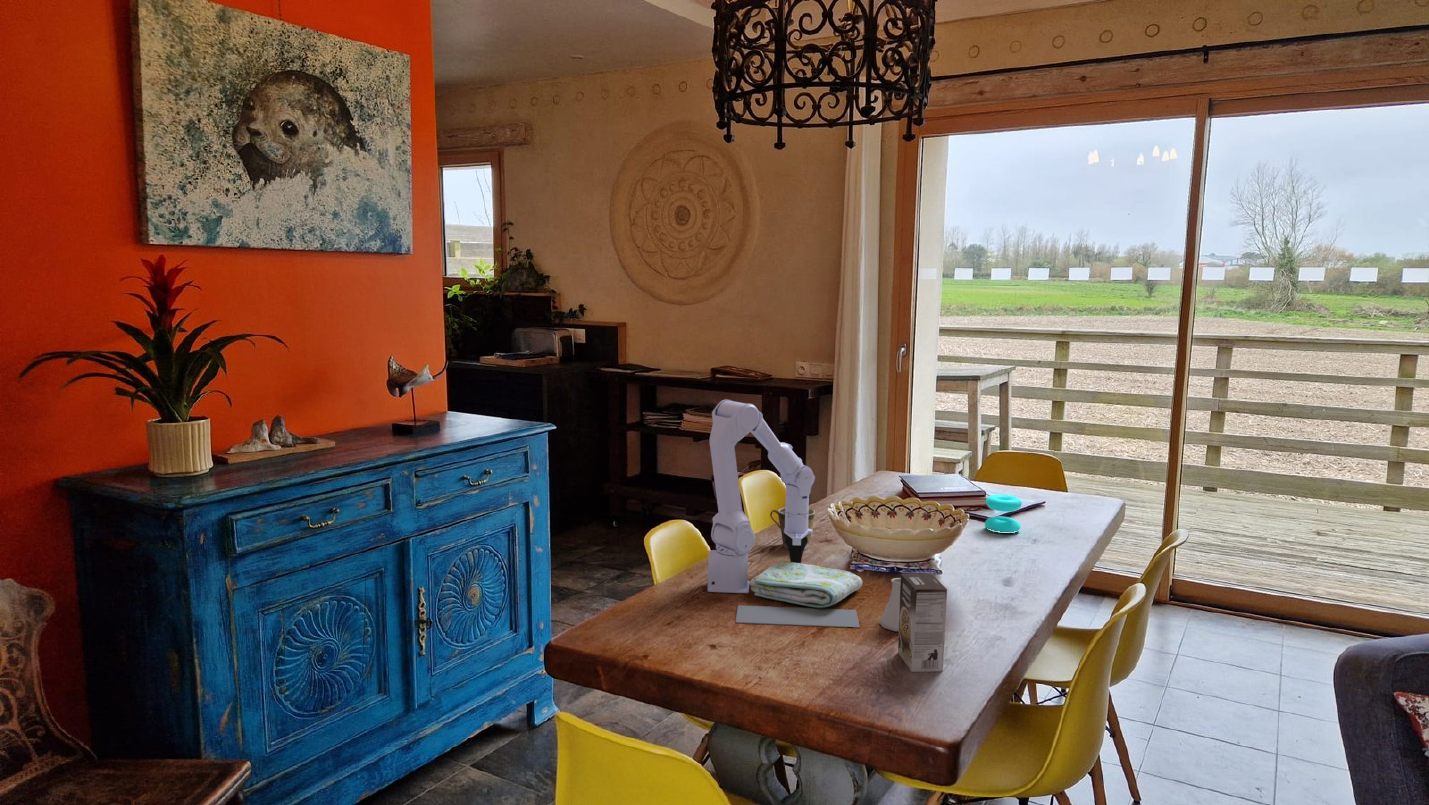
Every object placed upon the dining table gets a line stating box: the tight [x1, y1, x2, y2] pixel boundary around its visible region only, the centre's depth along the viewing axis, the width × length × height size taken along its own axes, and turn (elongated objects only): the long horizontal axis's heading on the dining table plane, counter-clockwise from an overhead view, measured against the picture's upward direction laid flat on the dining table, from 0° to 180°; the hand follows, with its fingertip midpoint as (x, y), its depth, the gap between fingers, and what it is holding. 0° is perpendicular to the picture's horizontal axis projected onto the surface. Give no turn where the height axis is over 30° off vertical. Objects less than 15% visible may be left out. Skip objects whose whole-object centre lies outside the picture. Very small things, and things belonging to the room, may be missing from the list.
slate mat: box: [735, 604, 860, 629], centre depth 194 cm, size 26×10×1 cm, turn 86°
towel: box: [749, 560, 863, 609], centre depth 209 cm, size 18×21×5 cm
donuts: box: [984, 494, 1023, 532], centre depth 264 cm, size 10×10×10 cm
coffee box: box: [897, 572, 948, 673], centre depth 171 cm, size 9×6×16 cm
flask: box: [878, 577, 901, 632], centre depth 189 cm, size 7×7×10 cm
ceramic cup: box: [769, 507, 816, 551], centre depth 246 cm, size 13×10×10 cm
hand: (795, 565), depth 224 cm, fingers closed
